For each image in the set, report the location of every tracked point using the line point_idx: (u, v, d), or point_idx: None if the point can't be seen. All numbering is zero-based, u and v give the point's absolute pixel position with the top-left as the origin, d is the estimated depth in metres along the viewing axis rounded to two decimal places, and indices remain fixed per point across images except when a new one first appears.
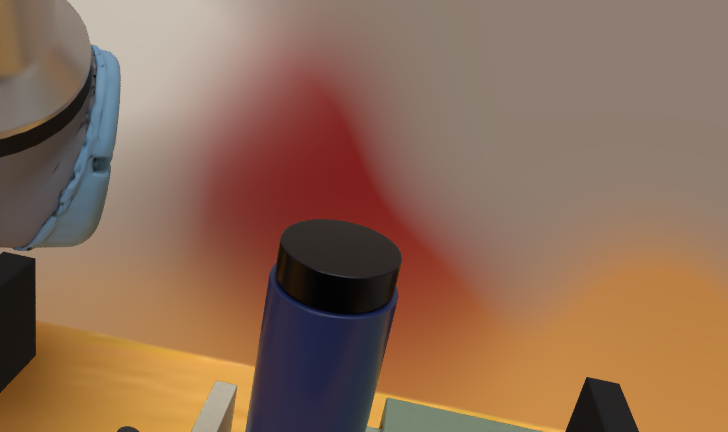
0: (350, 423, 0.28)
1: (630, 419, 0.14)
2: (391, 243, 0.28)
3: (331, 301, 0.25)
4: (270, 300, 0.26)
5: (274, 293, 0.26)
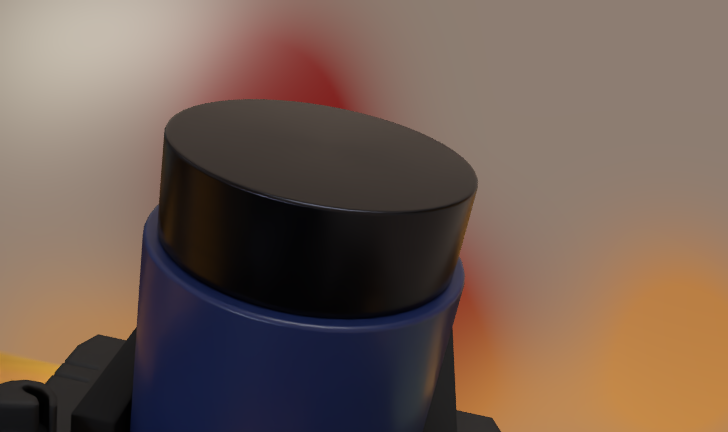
0: None
1: None
2: (445, 147, 0.12)
3: (294, 281, 0.09)
4: (142, 283, 0.10)
5: (149, 265, 0.10)
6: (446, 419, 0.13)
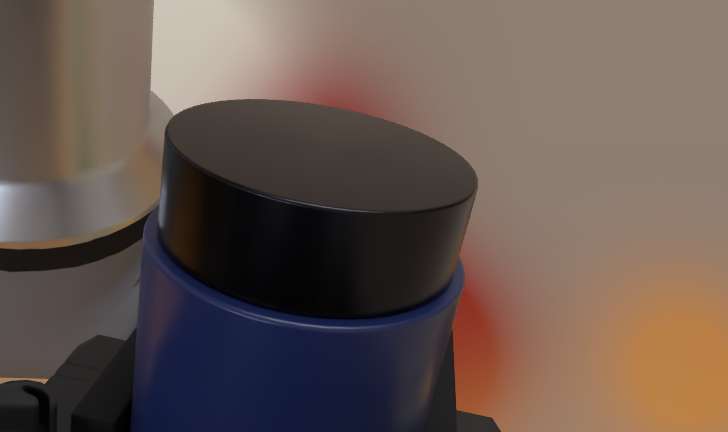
0: None
1: None
2: (445, 147, 0.12)
3: (294, 281, 0.09)
4: (142, 283, 0.10)
5: (149, 265, 0.10)
6: (446, 419, 0.13)
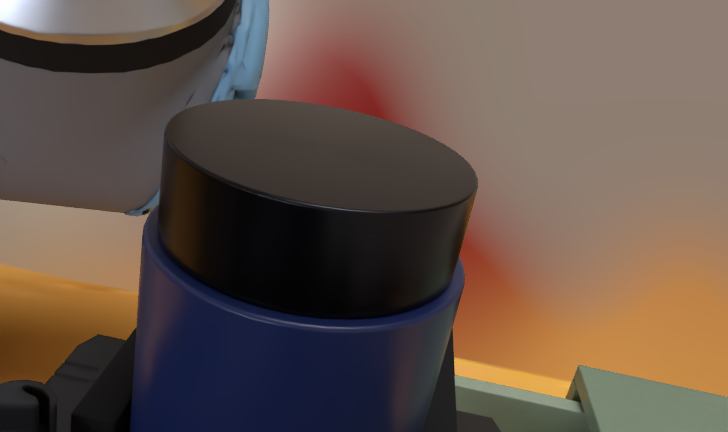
0: None
1: None
2: (445, 147, 0.12)
3: (294, 281, 0.09)
4: (142, 283, 0.10)
5: (148, 264, 0.10)
6: (446, 419, 0.13)
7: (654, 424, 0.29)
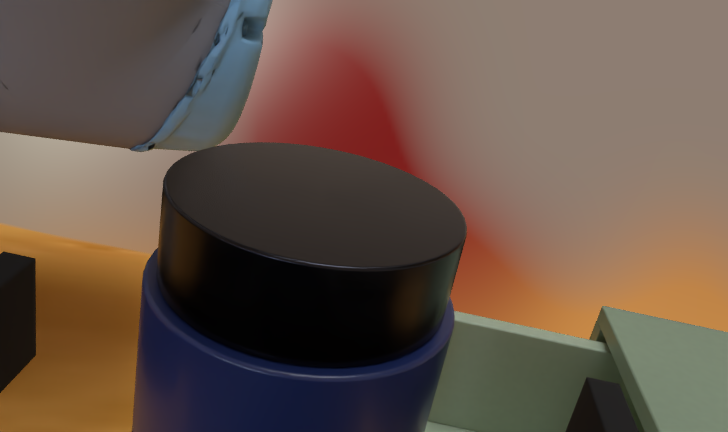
0: None
1: (630, 419, 0.14)
2: (435, 191, 0.12)
3: (287, 333, 0.09)
4: (141, 328, 0.11)
5: (148, 312, 0.10)
6: None
7: (684, 360, 0.27)
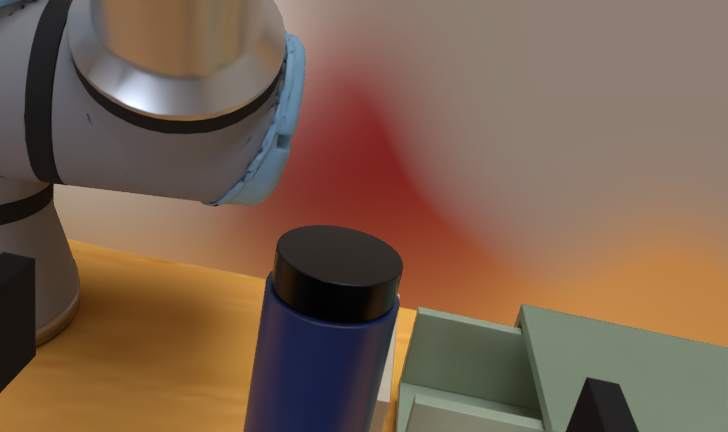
0: None
1: (630, 419, 0.14)
2: (392, 249, 0.27)
3: (330, 310, 0.24)
4: (266, 309, 0.25)
5: (271, 302, 0.25)
6: None
7: (569, 339, 0.42)
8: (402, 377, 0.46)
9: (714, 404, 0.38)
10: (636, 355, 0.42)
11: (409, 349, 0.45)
